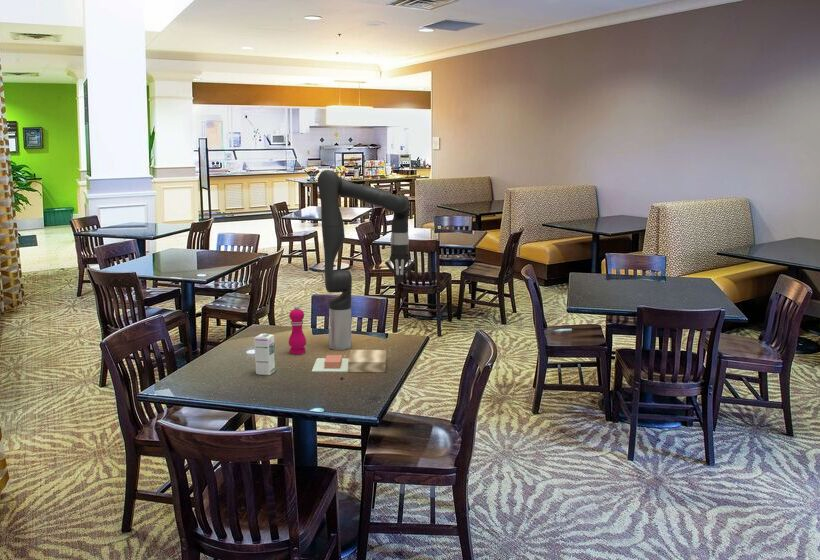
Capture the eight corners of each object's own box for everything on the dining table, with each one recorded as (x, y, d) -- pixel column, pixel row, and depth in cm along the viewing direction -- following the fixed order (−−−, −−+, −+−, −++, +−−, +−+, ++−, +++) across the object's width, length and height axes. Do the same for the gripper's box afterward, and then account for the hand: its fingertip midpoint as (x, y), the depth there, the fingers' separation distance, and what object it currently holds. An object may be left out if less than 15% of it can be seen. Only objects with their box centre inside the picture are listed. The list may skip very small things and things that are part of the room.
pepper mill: (308, 350, 289) (307, 303, 285) (304, 355, 282) (303, 307, 278) (291, 349, 290) (290, 303, 286) (286, 354, 282) (285, 307, 279)
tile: (339, 362, 264) (340, 368, 264) (342, 355, 273) (342, 361, 273) (324, 362, 264) (324, 368, 264) (326, 355, 273) (327, 361, 273)
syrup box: (270, 375, 257) (268, 337, 254) (255, 374, 258) (253, 336, 255) (276, 370, 262) (274, 333, 260) (261, 369, 263) (260, 332, 261)
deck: (348, 372, 261) (348, 362, 260) (351, 359, 277) (351, 349, 276) (385, 372, 261) (385, 362, 261) (386, 359, 277) (386, 350, 276)
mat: (311, 371, 261) (311, 370, 261) (317, 359, 277) (317, 358, 277) (347, 372, 261) (347, 371, 261) (350, 359, 277) (350, 358, 277)
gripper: (383, 244, 287) (383, 284, 290) (415, 244, 287) (415, 285, 290) (384, 241, 294) (384, 281, 297) (415, 241, 294) (414, 281, 297)
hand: (399, 283), depth 294 cm, fingers closed
